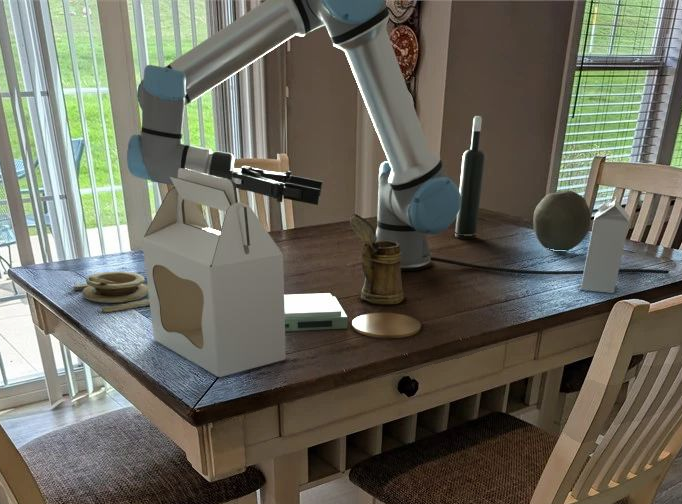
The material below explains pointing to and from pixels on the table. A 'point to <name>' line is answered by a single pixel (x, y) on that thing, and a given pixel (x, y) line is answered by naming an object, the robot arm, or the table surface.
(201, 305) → the gable box
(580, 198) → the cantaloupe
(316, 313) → the kitchen scale
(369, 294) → the wooden mug
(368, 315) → the golden round disc
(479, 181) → the wine bottle
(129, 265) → the table surface
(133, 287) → the tableware set
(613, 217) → the milk carton
